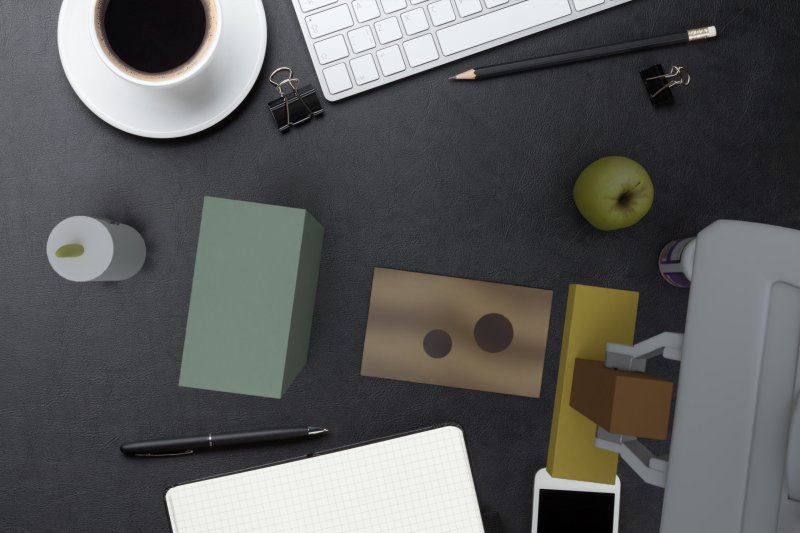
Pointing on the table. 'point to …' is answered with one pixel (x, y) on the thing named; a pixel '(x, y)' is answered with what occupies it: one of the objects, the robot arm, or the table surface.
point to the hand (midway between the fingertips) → (604, 393)
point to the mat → (456, 332)
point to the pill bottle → (678, 261)
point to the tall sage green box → (251, 297)
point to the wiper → (600, 387)
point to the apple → (613, 193)
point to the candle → (95, 249)
